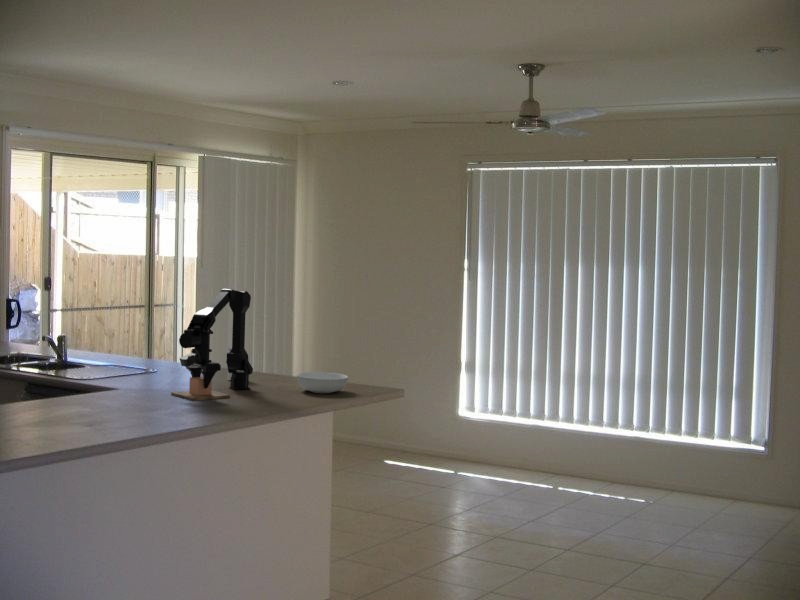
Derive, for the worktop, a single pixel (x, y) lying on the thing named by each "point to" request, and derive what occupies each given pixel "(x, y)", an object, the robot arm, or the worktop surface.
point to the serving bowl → (322, 381)
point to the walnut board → (200, 397)
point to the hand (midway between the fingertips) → (200, 387)
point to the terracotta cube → (199, 386)
